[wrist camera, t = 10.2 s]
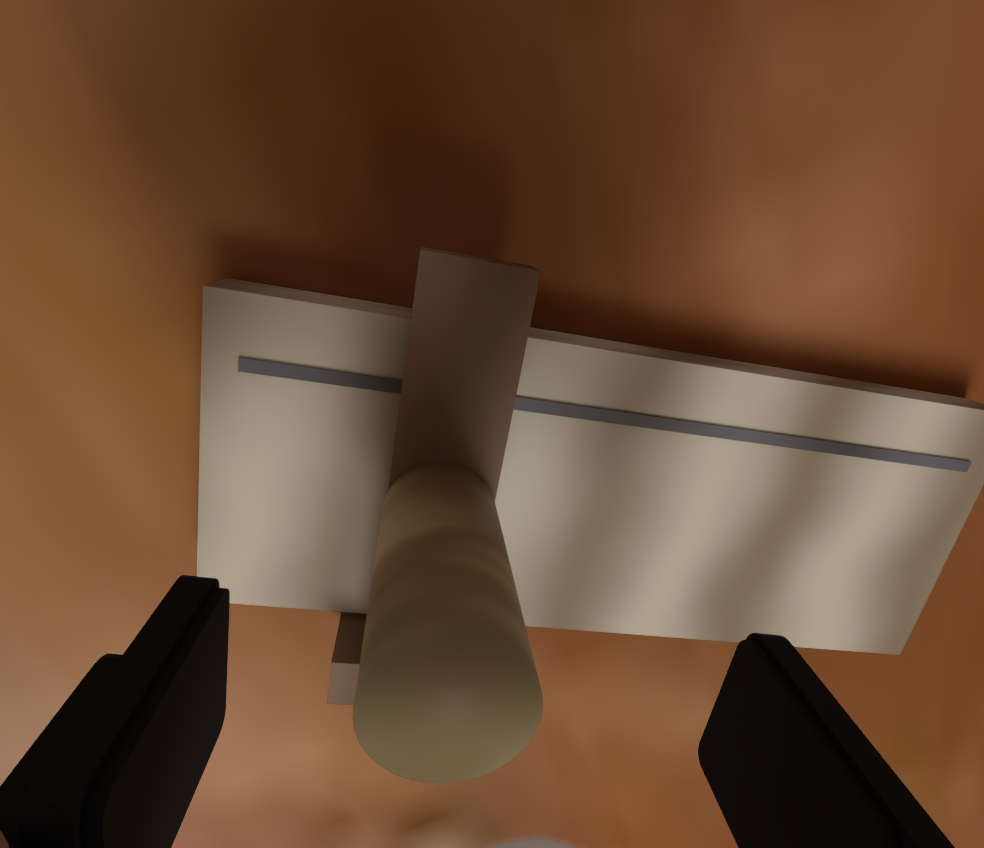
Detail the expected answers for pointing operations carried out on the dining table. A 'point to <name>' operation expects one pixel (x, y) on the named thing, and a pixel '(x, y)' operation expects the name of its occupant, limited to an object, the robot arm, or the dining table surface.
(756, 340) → the dining table surface
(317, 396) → the birch board
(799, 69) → the dining table surface
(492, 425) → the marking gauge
